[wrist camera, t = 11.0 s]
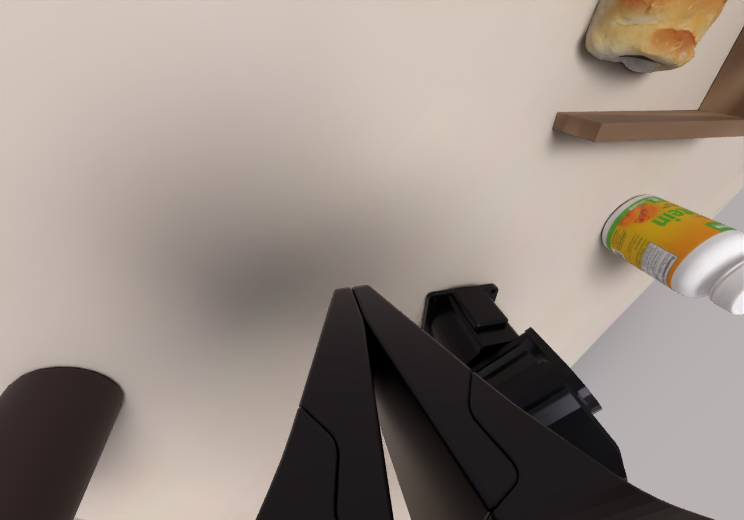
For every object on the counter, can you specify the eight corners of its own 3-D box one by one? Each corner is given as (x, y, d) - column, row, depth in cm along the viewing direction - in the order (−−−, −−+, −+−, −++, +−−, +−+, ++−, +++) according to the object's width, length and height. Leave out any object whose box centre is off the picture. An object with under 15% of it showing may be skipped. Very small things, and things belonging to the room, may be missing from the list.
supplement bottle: (665, 185, 27) (826, 245, 19) (645, 238, 30) (775, 308, 22) (607, 203, 26) (747, 272, 18) (593, 255, 29) (707, 332, 22)
